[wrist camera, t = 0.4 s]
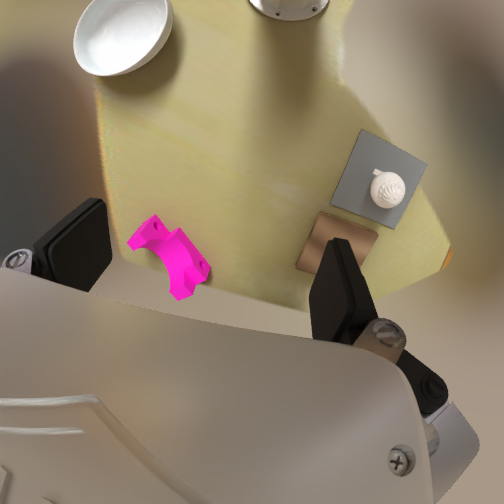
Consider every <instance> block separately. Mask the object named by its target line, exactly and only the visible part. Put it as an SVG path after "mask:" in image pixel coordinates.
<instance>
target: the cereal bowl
mask: <svg viewBox="0 0 504 504" xmlns="http://www.w3.org/2000/svg"><path fill="white" fill-rule="evenodd" d="M173 13H174V12H173V7H172V4H171V2H170V0H94V1H93V2H92V3H91V4H90V5H89V6H88V7H87V9H86V10H85V11H84V13H83V15H82V16H81V18H80V20H79V22H78V24H77V27H76V30H75V34H74V53H75V57H76V59H77V62H78V63H79V65H80V66H81V67H82V68H83V69H84V70H85V71H87V72H88V73H90V74H93V75H96V76H117V75H122V74H126V73H129V72H131V71H134V70H135V69H138V68H139V67H141V66H143V65H144V64H146V63H147V62H148V61H150V60H151V59H152V58H153V57H154V56H155V55H156V54H157V53H158V52H159V51H160V50H161V48H162V47H163V45H164V44H165V42H166V41H167V39H168V37H169V35H170V33H171V29H172V25H173V19H174V18H173V17H174V15H173Z"/></svg>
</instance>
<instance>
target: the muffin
mask: <svg viewBox="0 0 504 504" xmlns="http://www.w3.org/2000/svg"><path fill="white" fill-rule="evenodd" d="M370 192H371V197H372V199H373V201H374V202H375V203H376V204H377V205H378V206H380V207H382V208H392V207H395V206H397V205H399V204H400V202H402V199H403V198H404V195H405V184H404V182H403V180H402V179H401V177H400V176H398V175H397V174H395V173H393V172H383V173H380V174H378V175H377V176H376V177H375V178H374V179H373V181H372V184H371V190H370Z"/></svg>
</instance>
